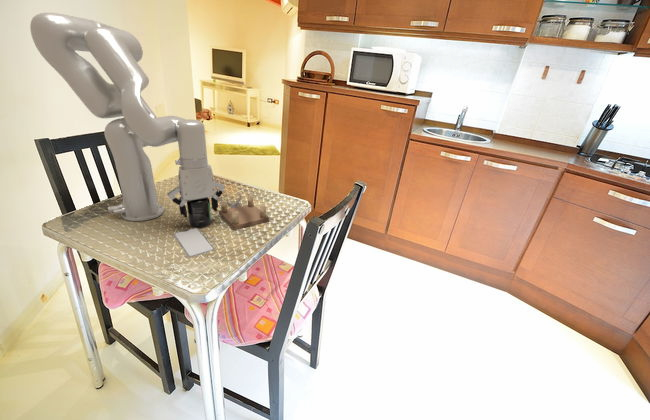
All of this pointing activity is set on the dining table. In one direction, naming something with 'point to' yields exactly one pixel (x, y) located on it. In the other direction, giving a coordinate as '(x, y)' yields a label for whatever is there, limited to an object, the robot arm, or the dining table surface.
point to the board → (243, 214)
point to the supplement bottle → (199, 212)
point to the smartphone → (193, 242)
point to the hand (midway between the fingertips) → (200, 212)
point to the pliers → (235, 203)
